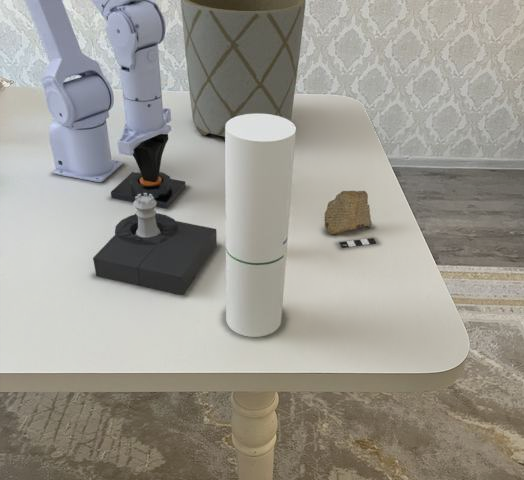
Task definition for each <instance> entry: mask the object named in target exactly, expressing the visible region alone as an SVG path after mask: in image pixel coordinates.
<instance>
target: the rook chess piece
mask: <svg viewBox="0 0 524 480" xmlns="http://www.w3.org/2000/svg"><path fill="white" fill-rule="evenodd" d="M132 203H133V204H132V205H133V207H134V208H135V209H136V212H135V213H136V215H137V216H138V229H137V231H136V234H135V236H138V237H153V236H157V235H159V234H161V232H160V230H159V228H158V227H157V224H156V220H155V214H156V213H157V211H156V209H155V208H156V207H155V206H156V204H157V202H156V201H155V200H154V197H153V196H152V194H149V196H147V193H144V196H141V194H138V196H136V197H135V201H134V202H132Z"/></svg>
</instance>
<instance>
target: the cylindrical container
mask: <svg viewBox="0 0 524 480" xmlns="http://www.w3.org/2000/svg"><path fill="white" fill-rule="evenodd" d="M296 133H297V127H296V125H295V124H294V123H293V122H292V120H291V121H289V120H288V119H285V118H283V117H280V116H276V115H270V114H245V115H240V116H237V117H234V118H232V119H230V120H229V121H227V123H226V125H225V137H224V140H225V142H224V150H225V152H224V153H225V154H224V155H225V159H224V161H225V162H224V163H225V166H224V167H225V168H224V169H225V170H224V171H225V173H224V175H225V178H224V179H225V180H224V181H225V182H224V183H225V320H226V324H227V326H228V327H229V328H230V330H231V331H232V332H234V333H236V334H238V335H241V336H244V337H249V338H251V337H252V338H260V337H265V336H269V335H271V334H273V333H274V332H276V331H277V330H278V329H279V328H280V326H281V324H282V316H283V303H284V291H285V279H286V277H285V276H286V265H287V250H288V238H289V226H290V225H289V224H290V214H291V213H290V212H291V198H292V185H293V172H294V158H295V147H296V145H295V144H296V136H297V135H296Z"/></svg>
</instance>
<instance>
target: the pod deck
mask: <svg viewBox="0 0 524 480" xmlns="http://www.w3.org/2000/svg"><path fill="white" fill-rule="evenodd" d="M155 220H156V224H157V227H158V228H159V230H160V232H161V234H159V235H157V236H153V237H138V236H135V234H136V231H137V229H138V216H137V215H136V212H135V213H133V214H132V215H129V216H127V217H125V218H123V219H121V220H120V221H119V222H118V223H116V225H115V228H114V235H113V236H112V237H111V238H110V239H109V240H108V241H107V243H106V244H104V246H103V247H102V248H101V249H100V250H99V251H98V252H97V253H96V254H94V256H93V257H92V260H93V261H92V262H93V265H94V271H95V276H96V277H100V278H105V279H109V280H113V281H118V282H122V283H125V284H131V285H136V286H140V287H145V288H149V289H152V290H153V289H154V290H157V291H158V290H159V291H162V292H167V293H171V294H176V295H181V296H183V295H185V293H186V292H187V290H188V288H190V286H191V284H192V283H193V281H194V280H195V279H196V277H197V276H198V274H199V273H200V271H202V268H203V267H204V265H205V264H206V262H207V261H208V259H209V258H210V257H211V255H212V254H213V253H214V251H215V250H216V248H217V246H218V245H217V244H218V242H217V241H218V240H217V238H218V237H217V236H218V235H217V228H213V227H209V226H204V225H198V224H193V223H188V222H184V221H178V220H176V219H174V218H173V217H171V216H169V215H167V214H163V213H159V212H158V213H157V212H156V214H155Z"/></svg>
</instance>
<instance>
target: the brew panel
mask: <svg viewBox="0 0 524 480" xmlns="http://www.w3.org/2000/svg"><path fill="white" fill-rule="evenodd" d="M159 176H160V177H161V179H162V183H161V184H159V185H156V186H144V185H141V184H140V178H141V177H142V175H141V172H136V171H132V172H131V173H130V174H128V175H127V176H126V177H125V178H124V179H123V180H122V181H121V182H120V183H118V185H117V186H116V187H114V188H113V189H112V190H111V191H110V196H111V199H113V200H119V201H124V202H129V203H134V201H135V197H136V196H138V194H141V196H144V193H147V196H149V194H152V196H153V197H154V200H155V201H156V202H157V204H156V206H155V207H154V208H161V209H165V210H168V209H169V207H170V206H171V205H172V204H173V203H174V202H175V201H176V200H177V199H178V197H179V196H180V195H181V194H182V193H183V191H185V189H186V188H187V183H186V181H185V180H181V179H180V180H179V179H173V178H171V176H170V175H168V174H166V173H164V172H162V171H159Z"/></svg>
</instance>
